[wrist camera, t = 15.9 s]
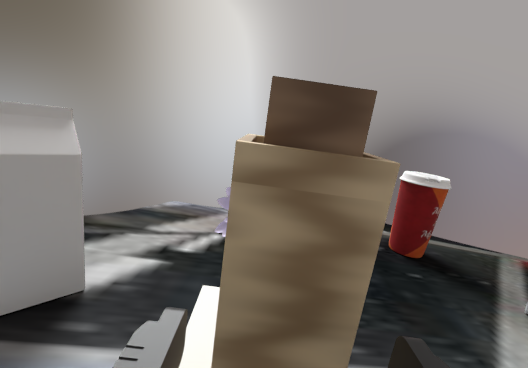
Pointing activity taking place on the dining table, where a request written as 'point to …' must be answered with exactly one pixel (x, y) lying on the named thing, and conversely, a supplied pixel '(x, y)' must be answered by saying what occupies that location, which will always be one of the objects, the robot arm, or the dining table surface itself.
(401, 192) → the coffee cup
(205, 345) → the white flat box
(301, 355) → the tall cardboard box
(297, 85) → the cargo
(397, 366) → the robot arm
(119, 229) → the dining table surface
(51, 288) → the milk carton
